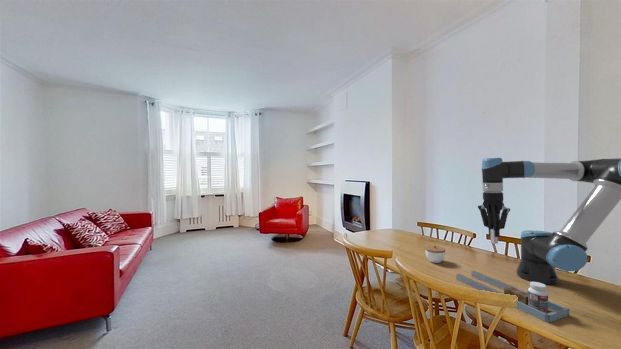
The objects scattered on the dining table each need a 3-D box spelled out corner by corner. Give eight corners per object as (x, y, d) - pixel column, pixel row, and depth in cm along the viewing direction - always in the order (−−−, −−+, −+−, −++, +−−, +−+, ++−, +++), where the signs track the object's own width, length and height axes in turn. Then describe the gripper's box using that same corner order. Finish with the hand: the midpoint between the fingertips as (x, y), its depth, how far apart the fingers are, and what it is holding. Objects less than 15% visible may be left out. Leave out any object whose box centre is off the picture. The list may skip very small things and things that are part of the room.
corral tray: (498, 299, 104) (498, 293, 104) (517, 294, 107) (517, 288, 107) (548, 322, 88) (548, 315, 87) (569, 315, 91) (569, 309, 91)
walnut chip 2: (514, 302, 101) (514, 292, 101) (521, 300, 103) (520, 290, 103) (525, 307, 98) (525, 297, 98) (532, 305, 99) (532, 295, 99)
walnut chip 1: (504, 297, 105) (503, 288, 105) (510, 295, 107) (510, 286, 106) (514, 302, 101) (514, 292, 101) (521, 300, 103) (521, 290, 103)
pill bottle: (543, 315, 92) (543, 289, 92) (524, 307, 97) (524, 282, 97) (551, 311, 94) (551, 285, 94) (532, 304, 99) (532, 279, 99)
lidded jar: (448, 265, 141) (447, 248, 140) (427, 264, 143) (427, 247, 142) (442, 258, 151) (441, 243, 151) (423, 257, 153) (423, 242, 153)
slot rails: (456, 279, 123) (456, 274, 123) (474, 275, 126) (474, 270, 126) (498, 299, 104) (498, 293, 104) (517, 293, 108) (517, 288, 107)
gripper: (473, 191, 118) (474, 240, 118) (503, 193, 106) (504, 248, 106) (483, 190, 121) (485, 238, 121) (514, 192, 109) (515, 245, 109)
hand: (494, 243), depth 114 cm, fingers closed
